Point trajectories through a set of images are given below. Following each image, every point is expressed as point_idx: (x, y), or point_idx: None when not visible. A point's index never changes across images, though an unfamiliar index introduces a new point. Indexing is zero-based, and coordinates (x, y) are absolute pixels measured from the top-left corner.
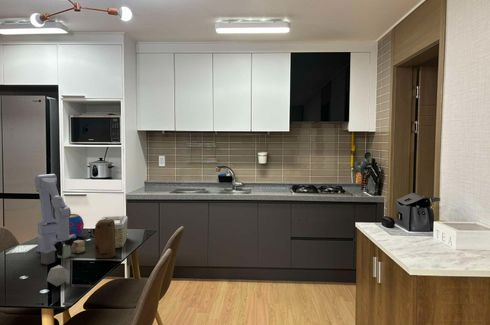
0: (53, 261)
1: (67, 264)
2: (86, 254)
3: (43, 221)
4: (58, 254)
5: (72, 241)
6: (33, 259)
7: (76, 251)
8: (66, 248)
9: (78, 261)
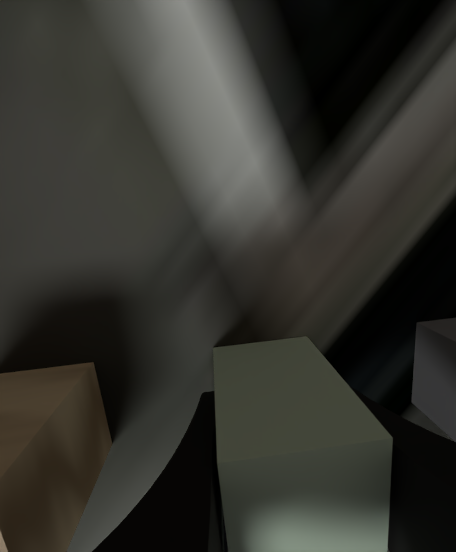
0: (443, 322)
1: (449, 102)
2: (69, 228)
3: None
4: None
5: (149, 549)
6: None
7: (93, 402)
8: (304, 416)
9: (317, 67)
